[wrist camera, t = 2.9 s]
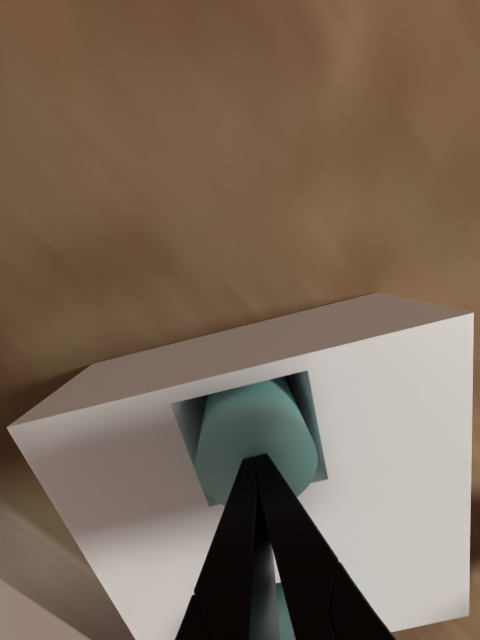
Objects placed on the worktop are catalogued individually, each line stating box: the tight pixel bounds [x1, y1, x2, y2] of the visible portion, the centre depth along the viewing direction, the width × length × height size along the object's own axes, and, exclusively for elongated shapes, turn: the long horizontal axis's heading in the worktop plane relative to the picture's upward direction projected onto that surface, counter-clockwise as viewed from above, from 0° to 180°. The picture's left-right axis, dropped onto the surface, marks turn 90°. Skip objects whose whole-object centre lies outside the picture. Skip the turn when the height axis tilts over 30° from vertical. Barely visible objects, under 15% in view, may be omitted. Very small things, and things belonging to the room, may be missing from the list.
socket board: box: [6, 292, 474, 640], centre depth 12 cm, size 16×16×5 cm
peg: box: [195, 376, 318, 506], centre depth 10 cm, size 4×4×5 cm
